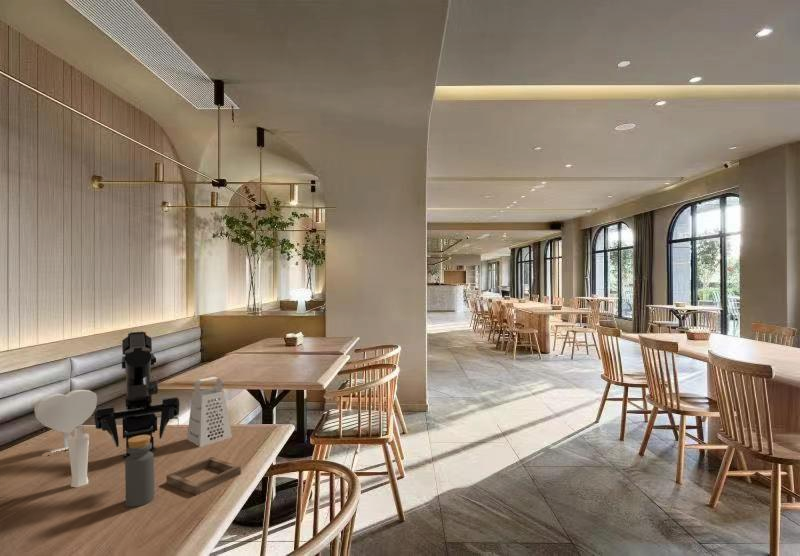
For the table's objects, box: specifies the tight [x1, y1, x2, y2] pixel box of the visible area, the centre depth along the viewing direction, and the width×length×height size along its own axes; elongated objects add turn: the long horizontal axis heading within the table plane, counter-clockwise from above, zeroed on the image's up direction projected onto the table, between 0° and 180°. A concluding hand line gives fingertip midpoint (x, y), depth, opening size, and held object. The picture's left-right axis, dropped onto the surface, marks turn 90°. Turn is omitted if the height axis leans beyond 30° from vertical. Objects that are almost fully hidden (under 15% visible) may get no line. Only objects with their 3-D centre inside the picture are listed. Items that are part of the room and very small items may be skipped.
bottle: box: [124, 435, 156, 508], centre depth 100 cm, size 6×6×15 cm
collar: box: [166, 456, 242, 496], centre depth 110 cm, size 13×13×2 cm
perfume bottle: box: [68, 424, 90, 489], centre depth 109 cm, size 5×4×15 cm
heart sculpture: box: [33, 389, 98, 453], centre depth 134 cm, size 16×5×18 cm, turn 143°
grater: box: [186, 376, 233, 448], centre depth 140 cm, size 10×10×20 cm
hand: (139, 441), depth 104 cm, fingers open, 9 cm apart
